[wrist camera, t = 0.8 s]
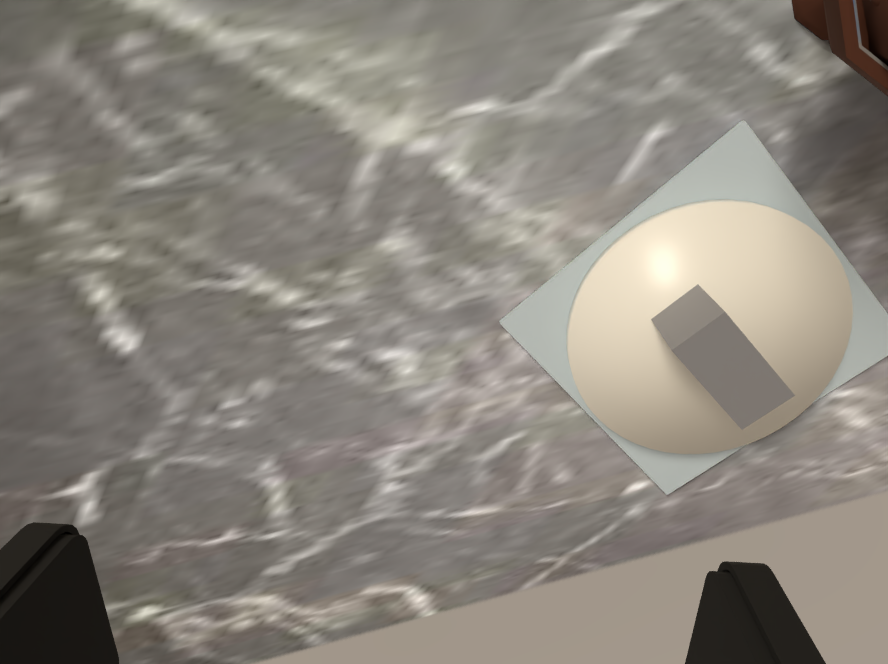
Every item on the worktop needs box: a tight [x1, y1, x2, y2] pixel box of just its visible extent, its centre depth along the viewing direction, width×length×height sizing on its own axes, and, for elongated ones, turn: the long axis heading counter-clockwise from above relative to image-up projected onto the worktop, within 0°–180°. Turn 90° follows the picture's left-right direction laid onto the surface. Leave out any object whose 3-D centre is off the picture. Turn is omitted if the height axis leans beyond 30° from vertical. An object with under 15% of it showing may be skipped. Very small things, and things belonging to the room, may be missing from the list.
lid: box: [566, 199, 853, 454], centre depth 32 cm, size 15×15×5 cm
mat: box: [500, 120, 888, 495], centre depth 34 cm, size 16×16×1 cm
